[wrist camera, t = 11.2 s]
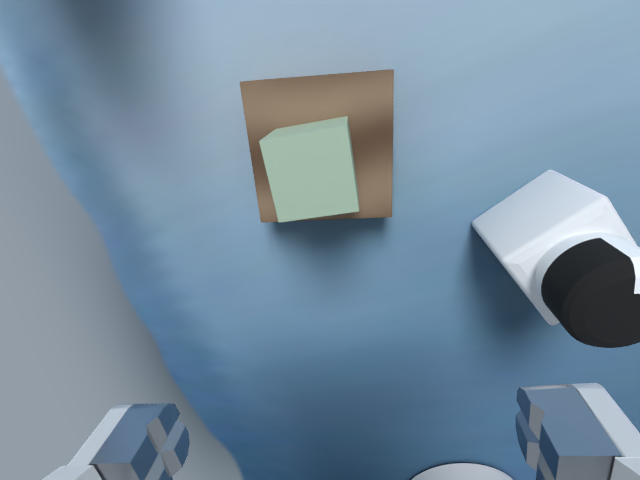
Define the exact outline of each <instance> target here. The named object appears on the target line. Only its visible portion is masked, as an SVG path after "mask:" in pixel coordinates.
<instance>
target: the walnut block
mask: <svg viewBox="0 0 640 480" xmlns="http://www.w3.org/2000/svg"><path fill="white" fill-rule="evenodd" d="M393 78H394V70H379V71H366V72H353V73H341V74H328V75H316V76H303V77H290V78H278V79H265V80H253V81H243V82H240V87H241V94H242V100H243V107H244V114H245V120H246V127H247V133H248V140H249V146H250V153H251V160H252V166H253V173H254V179H255V186H256V192H257V199H258V206H259V212H260V219H261V222H278V218H277V213H276V209H275V205H274V201H273V197H272V193H271V189H270V184H269V180H268V176H267V172H266V168H265V164H264V160H263V155H262V151H261V147H260V143H259V141H260V140H261V139H263V138H264V137H265V136H267V135H268V134H269V133H271V132H272V131H274V130H275V129H278V128H283V127H289V126H295V125H300V124H306V123H311V122H317V121H322V120H328V119H334V118H339V117H345V116H348V122H349V129H350V136H351V143H352V150H353V157H354V164H355V171H356V178H357V186H358V199H359V211H358V212H351V213H344V214H337V215H330V216H323V217H316V218H308V219H301V220H294V221H306V220H331V219H356V218H381V217H392V165H393Z"/></svg>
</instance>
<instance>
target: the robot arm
mask: <svg viewBox="0 0 640 480" xmlns="http://www.w3.org/2000/svg"><path fill="white" fill-rule="evenodd" d="M517 402H518V404H519V406H520V409H521V410H520V411H519V412H518V413H517V414H516V432H517V437H518V442H519V445H520V448H521V451H522V453H523V456H524V458H525V461H526V463H527V464H529V465H530V466H531V467H532V468H533V469H535V470H536V471H537V474H536V480H640V433H639V432H638V430H637V429H636V428H635V427H634V425H633V424H632V423H631V421H630V420H629V419H628V418H627V416H626V415H625V414H624V413H623V411H622V410H621V409H620V408H619V406H618V405H617V404H616V403H615V401H614V400H613V399H612V398H611V396H610V395H609V394H608V393H607V391H606V390H605V389H604V387H603V386H601V385H599V384H598V383H585V384H570V385H568V384H563V385H545V386H528V387H519V389H518V391H517ZM179 414H180V413H179V411H178V409H177V407H176V405H175V404H170V403H165V404H164V403H161V404H124V405H123V404H122V405H116V406H115V407H113V408H111V409H110V410H109V412H108V413H107V414H106V416H105V417H104V419H103V420H102V421H101V422H100V424H99V425H98V427H96V429H95V430H94V431H93V433H92V434H91V435H90V437H89V438H88V439H87V441H86V442H85V443H84V444H83V446H82V447H81V448H80V450H79V451H78V452H77V454H76V455H75V456H74V458H73V459H72V461H70V463H69V464H68V465H65V466H64V465H63V466H61V467H59V468H58V469H56V470H55V471H54V472H52V473H51V474H49V475H48V476H47V477H45V478H44V479H42V480H173V479H172V476H173V475H174V474H175V473H176V472H178V471H179V470H180V469H181V468H182V466H183V464H184V462H185V460H186V457H187V454H188V448H189V434H188V431H187V429H186V426H185V425H183V424H182V423H181V422H179V421H178V420H177V419H178V416H179ZM412 480H513V479H512V478H511V477H509V476H508V475H507V474H505V473H503V472H501V471H499V470H497V469H495V468H492V467H488V466H484V465H479V464H471V463H455V464H447V465H441V466H437V467H434V468H431V469H428V470H426V471H424V472H422V473H420V474H418V475H417V476H415V477H414V478H413V479H412Z"/></svg>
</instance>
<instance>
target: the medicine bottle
mask: <svg viewBox="0 0 640 480" xmlns="http://www.w3.org/2000/svg"><path fill="white" fill-rule="evenodd" d="M472 226H473V228H474V229H475V230H476V231H477V233H478V234H479V235H480V237H481V238H482V239H483V241H484V242H485V243H486V244H487V246H488V247H489V248H490V250H491V251H492V252H493V253H494V255H495V256H496V257H497V259H498V260H499V261H500V262H501V264H502V265H503V266H504V268H505V269H506V270H507V271H508V273H509V274H510V275H511V277H512V278H513V279H514V280H515V282H516V283H517V284H518V286H519V287H520V288H521V289H522V291H523V292H524V293H525V295H526V296H527V297H528V298H529V300H530V301H531V302H532V304H533V305H534V306H535V307H536V309H537V310H538V311H539V312H540V314H541V315H542V316H543V318H544V319H545V320H546V321H547V323H549V324H550V325H556V324H558V323H561V324H562V326H563V327H564V328H565V329H566V330H567V332H568V333H569V334H570V335H571V336H572V337H573V338H575V339H576V340H578V341H580V342H582V343H584V344H587V345H591V346H596V347H604V348H616V347H624V346H629V345H632V344H636V343H638V342H640V247H638V246H637V245H636V243H635V241H634V240H633V238H632V237H631V235H630V233H629V232H628V230H627V228H626V227H625V225H624V223H623V222H622V220H621V219H620V217H619V215H618V214H617V212H616V210H615V209H614V207H613V206H612V204H611V202H610V201H609V199H608V198H607V197H606V196H604V195H602V194H600V193H598V192H596V191H594V190H592V189H590V188H588V187H586V186H584V185H582V184H580V183H578V182H576V181H574V180H572V179H570V178H568V177H566V176H564V175H562V174H560V173H558V172H556V171H553V170H547V171H545V172H544V173H542V174H541V175H539V176H538V177H536V178H535V179H533V180H532V181H531V182H529V183H528V184H526V185H525V186H523V187H522V188H520V189H519V190H517V191H516V192H514V193H513V194H511V195H510V196H508V197H507V198H505V199H504V200H502V201H501V202H499V203H498V204H496V205H495V206H493V207H492V208H490V209H489V210H487V211H486V212H484V213H483V214H482V215H480V216H479V217H477V218H476V219H474V220H473V221H472Z"/></svg>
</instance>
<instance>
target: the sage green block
mask: <svg viewBox="0 0 640 480" xmlns="http://www.w3.org/2000/svg"><path fill="white" fill-rule="evenodd" d="M259 143H260V147H261V151H262V155H263V160H264V164H265V168H266V172H267V176H268V180H269V184H270V189H271V193H272V197H273V201H274V205H275V209H276V213H277V218H278V222H279V223H280V222H287V221H294V220H301V219H308V218H316V217H323V216H330V215H337V214H344V213H351V212H358V211H359V199H358V186H357V178H356V171H355V164H354V157H353V150H352V143H351V136H350V129H349V122H348V116H345V117H339V118H334V119H328V120H322V121H317V122H311V123H306V124H300V125H295V126H289V127H283V128H278V129H275V130H274V131H272V132H271V133H269V134H268V135H267V136H265V137H264V138H263V139H261V140H260V141H259Z"/></svg>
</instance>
